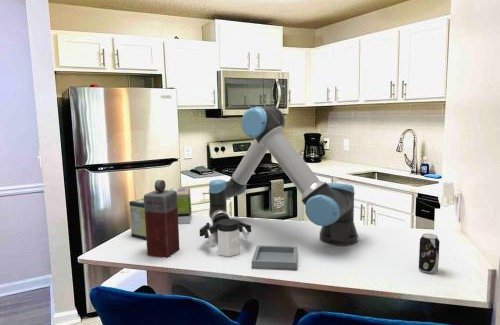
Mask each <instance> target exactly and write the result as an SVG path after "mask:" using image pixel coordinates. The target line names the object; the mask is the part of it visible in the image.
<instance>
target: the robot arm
mask: <svg viewBox="0 0 500 325" xmlns="http://www.w3.org/2000/svg"><path fill="white" fill-rule="evenodd" d="M285 124H286V119H285V115H284V113H283V112H282V111H281V110H280V109H279V108H277V107H274V106H254V107H250V108H249V109H247V110H246V111H245V112H244V114H243V115H242V118H241V129H242V131H243V133H244V134H245V135H246V136H247V137H248V138H251V139H253V141H252V143H251V144H250V146H249V147H248V149H247V151H246V152H245V154H244V155H243V157H242V158H241V161H240V163H239V164H238V165H237V167H236V169H235V171H234V172H233V174H232V176H231V177H230V178H229V180H228V181H226V180H224V179H212V180H210V181H209V184H208V185H209V186H208V188H209V189H208V192H209V193H208V194H209V214H208V216H209V218H210V220H211V222H212V224H211V223H210V222H206V223H205V225H204V226H202V227H201V228H200V229H199V237H203V236H204V239H208V243H210V244H211V243H212V235H213V234H214V233H218V229H217V222H218V221H219V220H222V219H231V218H230V216H229V214H228V212H227V211H228V210H227V209H228V208H227V207H228V206H227V204H228V203H227V200H229V199H230V198H233V197H236V196H240V195H242V194H243V193H244V192H246V189H247V183H248V181H249V180H250V178H251V176H252V175H253V174H254V172H255V171H256V169H257V167H258V166H259V164H260V163H261V161H262V160H263V158H264V156H265V155H266V153H267V152H269V153H270V155H271V156H272V157H273V158H274V160H275V161H276V162H277V164H278V165H279V166H280V168H281V169H282V170H283V171H284V173H285V175H286V176H288V178H289V180H290V181H291V182H292V183H293V185H294V186H295V187H296V189H297V190H298V191H299V193H300V194H301V202H302V203H303V205H304V209H305V212H304V213H305V216H306V217H307V218H308V220H309V221H310V222H311V223H313V224H314V225H316V226H320V231H319V240H320V241H322V242H323V243H324V244H328V245H332V246H333V245H335V246H350V245H355V244H356V243H358V240H359V237H358V236H359V234H358V231H357V228H356V225H355V221H354V216H355V195H356V194H355V187H354V186H353V185H352V184H348V183H339V182H337V183H336V182H326V181H323V180H322V181H321V180H320V179H319V178H318V177H317V175H316V174H315V173H314V171H313V170H312V169H311V168H310V166H309V165H308V164H307V162H306V161H305V160H304V158H303V157H302V156H301V155H300V153H299V152H298V151H297V150H296V148H295V147H294V145H293V144H292V143H291V142H290V140H289V139H288V138H287V137H286V135H285V134H284V128H285ZM237 220H238V219H237ZM238 221H239V233H242V235H243V237H244V239H245V240H249V238H248V237H249V234H250V233H251V232H252V225H250V224H248V223H246V222H245V223H244V222H242V221H240V220H238Z"/></svg>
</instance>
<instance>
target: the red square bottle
mask: <svg viewBox="0 0 500 325" xmlns="http://www.w3.org/2000/svg"><path fill="white" fill-rule="evenodd" d="M143 198H144V210H145V226H146V240H145V241H146V255H147V256H148V257H155V258H157V257H158V258H163V257H165V258H166V259H169V258H170V257H172V256H171V255H173V256H174V254H176V253H177V252H178V251H180V232H179V231H180V230H179V224H178V207H177V192H176V191H171V189H170V190H168V189H166V181H165V180H163V179H157V180H155V182H154V190H153V191H150V192H147V193H145V194H144V195H143ZM168 257H169V258H168Z"/></svg>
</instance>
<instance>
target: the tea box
mask: <svg viewBox="0 0 500 325" xmlns="http://www.w3.org/2000/svg"><path fill="white" fill-rule="evenodd" d="M190 188H191V187H177V188H176V187H175V188H170V190H171V191H176V192H177V207H178V225H186V224H191V220H192V216H193V215H192V203H191V202H192V199H191V189H190Z"/></svg>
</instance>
